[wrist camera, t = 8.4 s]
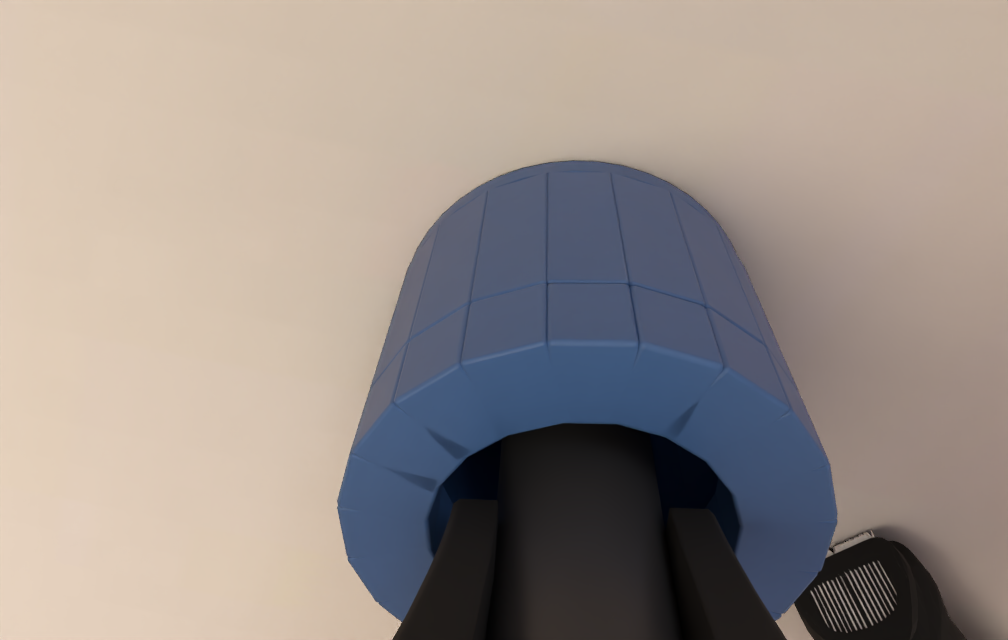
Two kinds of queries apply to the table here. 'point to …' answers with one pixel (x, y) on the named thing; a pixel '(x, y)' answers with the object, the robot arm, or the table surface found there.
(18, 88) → the table surface
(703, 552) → the robot arm
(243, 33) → the table surface
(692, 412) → the blue cylindrical cup
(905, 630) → the electric trimmer
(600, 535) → the marker
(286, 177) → the table surface
